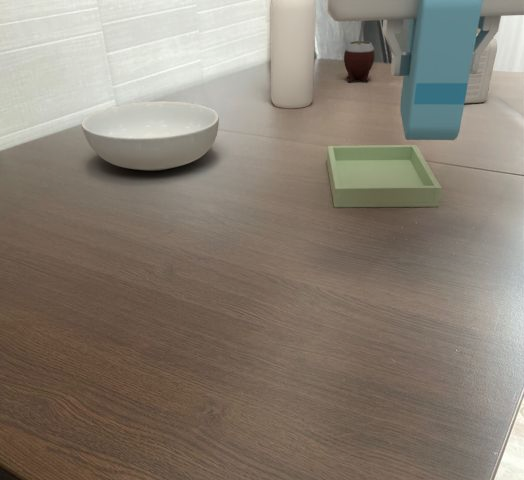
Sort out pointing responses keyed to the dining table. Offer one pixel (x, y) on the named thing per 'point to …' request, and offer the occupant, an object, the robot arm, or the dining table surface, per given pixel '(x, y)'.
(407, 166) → the shallow green tray
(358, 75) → the mate gourd
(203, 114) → the serving bowl
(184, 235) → the dining table surface
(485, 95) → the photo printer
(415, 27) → the data package
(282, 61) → the alcohol
